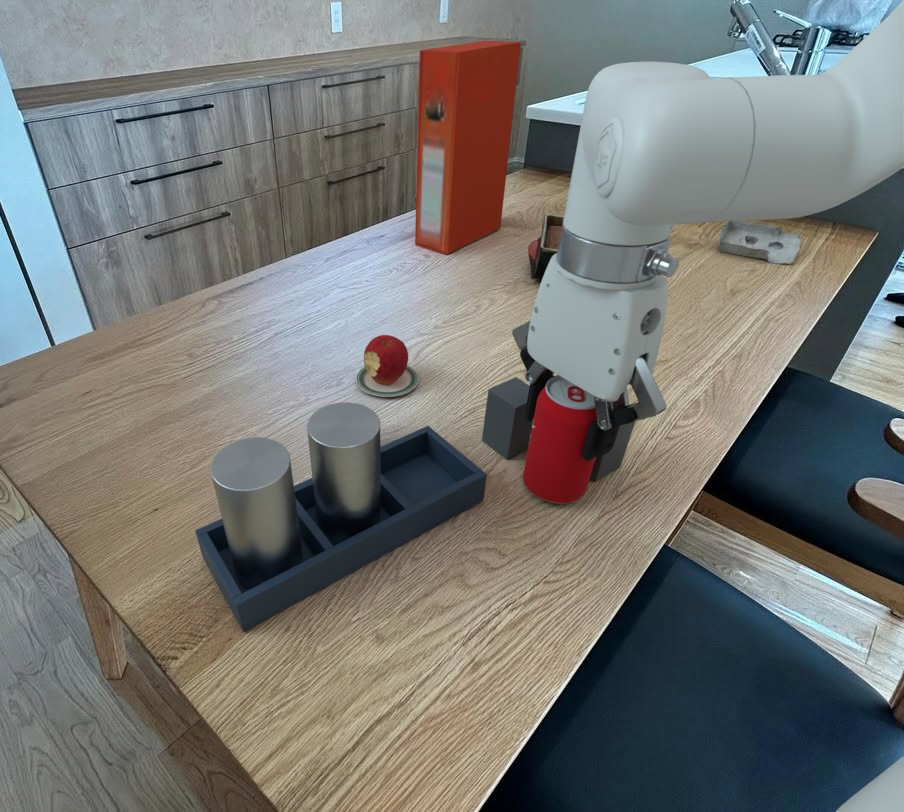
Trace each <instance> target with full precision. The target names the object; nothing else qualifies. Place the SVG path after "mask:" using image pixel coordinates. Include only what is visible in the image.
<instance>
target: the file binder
mask: <svg viewBox="0 0 904 812" xmlns="http://www.w3.org/2000/svg"><path fill="white" fill-rule="evenodd" d="M521 46H522V43H521V42H520V41H506V40H505V41H504V40H479V41H473V42H466V43H458V44H453V45H447V46H446V45H445V46H440V47H434V48H433V47H432V48H427V49H421V50H419V59H418V60H419V64H418V65H419V66H418V67H419V68H418V100H417V101H418V103H417V104H418V106H417V107H418V108H417V144H416V145H417V146H416V153H417V154H416V186H415V187H416V189H415V190H416V191H415V227H414V228H415V231H414V232H415V233H414V238H415V239H414V245H415V246H416V247H420V248H423V249H426V250H430V251H432V252H433V251H434V252H436V253H440V254H443V255H449V254H451V253H453V252H455V251H457V250H459V249H462V247H465V246H467V245H469V244H471V243H473V242H476V241H478V240H479V239H481V238H484V237H486V236H488V235H490V234H492V233H494V232H497V231H498V230H500V229H501V227H502V226H501V225H502V217H503V210H504V209H503V208H504V199H505V190H506V182H507V181H506V179H507V173H508V172H507V171H508V163H509V155H510V146H511V136H512V128H513V127H512V126H513V118H514V111H515V110H514V109H515V101H516V91H517V84H518V83H517V82H518V72H519V64H520V56H521V48H522V47H521Z"/></svg>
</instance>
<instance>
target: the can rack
mask: <svg viewBox="0 0 904 812" xmlns="http://www.w3.org/2000/svg"><path fill="white" fill-rule="evenodd" d="M380 470H381V522H380V523H378V524H376V525H374V526H372V527H370V528H368V529H366V530H364V531H362V532H360V533H358V534H357V535H355V536H353V537H351V538H349V539H347V540H345V541H343V542H341V543H339V544H337V545H335V546H333V545H332V544H331V543H330V541H329V540H328V539H327V537H326V536H325V535H324V534H323V532H322V531H321V530H320V529H319V527H318V526H317V520H316V510H315V500H314V490H313V480H312V477H311V478H308V479H306V480H304V481H302V482H300V483H297V484H294V491H295V499H296V507H297V515H298V523H299V530H300V538H301V546H302V554H303V562H302V563H300V564H299V565H297V566H295V567H293V568H291V569H289V570H287V571H285V572H283V573H281V574H279V575H277V576H275V577H273V578H271V579H269V580H268V581H266V582H264V583H262V584H260V585H258V586H256V587H254V588H252V589H248V588H246V587H245V586H243V585H242V584H241V583H240V582H239V580H238V579H237V577H236V574H235V571H234V567H233V562H232V558H231V554H230V550H229V546H228V542H227V538H226V533H225V529H224V525H223V521H222V518H220V519H217V520H215V521H213V522H210V523H208V524H206V525H204V526H202V527H199V528H197V529H196V530H195V535H196V538H197V543H198V546H199V549H200V553H201V556H202V559H203V560H204V562H205V564H206V566H207V568H208V570H209V571H210V573H211V575H212V577H213V579H214V581H215V582H216V585H217V586H218V588H219V590H220V592H221V593H222V596H223V597H224V599H225V601H226V603H227V604H228V607H229V608H230V610H231V612H232V614H233V616H234V618H235V619H236V621H237V624H238V625H239V627H240V629H241V631H242V632H243V633H245V632H246V631H248V630H250V629H252V628H253V627H255V626H257V625H260V624H261V623H263V622H265V621H267V620H268V619H270V618H272V617H273V616H276V615H277V614H279V613H281V612H282V611H285V610H286V609H289V608H290V607H292V606H294V605H296V604H297V603H299V602H301V601H303V600H305V599H307V598H308V597H310V596H312V595H314V594H317V592H319V591H322V590H323V589H325V588H326V587H328V586H330V585H332V584H334V583H335V582H338V581H339V580H341V579H343V578H345V577H347V576H349V575H350V574H353V573H354V572H357V570H359V569H361V568H364V567H365V566H367V565H368V564H370V563H373V562H374V561H376V560H378V559H379V558H382V557H383V556H385V555H387V554H389V553H391V552H392V551H395V550H396V549H398V548H400V547H402V546H403V545H405V544H407V543H409V542H411V541H413V540H414V539H417V538H418V537H420V536H421V535H424V534H425V533H428V532H429V531H431V530H432V529H435V528H437V527H438V526H440V525H442V524H444V523H445V522H447V521H449V520H451V519H452V518H455V517H457V516H458V515H460V514H462V513H463V512H465V511H467V510H469V509H471V508H473V507H475V506H476V505H478V504H481V503H482V502H483V501H484V499H485V492H486V484H487V478H488V474H487V472H485V471H484V470H483V469H481V468H480V467H479V466H477V465H476V464H475V463H474V462H473V461H472V460H471V459H469V458H468V457H467V456H466V455H464V454H463V453H462V452H461V451H459V450H458V449H457V448H456V447H455V446H453V444H451V443H450V442H449V441H447V440H446V439H445V438H444V437H443V436H441V435H440V433H437V431H436V430H434V429H433V428H431V427H430V426H429V425H426V426H423V427H422V428H420V429H417V430H415V431H413V432H410V433H407V434H406V435H403V436H402V437H400V438H397V439H394V440H392V441H391V442H388V443H386V444H384V445H381V446H380Z"/></svg>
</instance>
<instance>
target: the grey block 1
mask: <svg viewBox="0 0 904 812" xmlns="http://www.w3.org/2000/svg"><path fill="white" fill-rule="evenodd" d="M529 387H530V384H529V383H526V381H523V380H521V379H520V378H518V377H517V376H515V377H513V378H510V379H508V380H506V381H504V382H501V383H499V384H497V385H494V386H493V387H490V388H488V390H487V396H486V405H485V413H484V421H483V429H482V436H481V441H482V442H483V443H485V444H486V445H487V446H488V447H490V448H491V449H493V450H494V451H495V452H496V453H498V454H499V455H500V456H502V457H503V458H504V459H505V460H509V459H511V458H514V457H515V456H518V455H519V454H521V453H524V452H525V451H528V445H529V440H530V435H531V429H532V424H533V421H528V420H527V419H525V412H526V406H527V398H528V392H529Z"/></svg>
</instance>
